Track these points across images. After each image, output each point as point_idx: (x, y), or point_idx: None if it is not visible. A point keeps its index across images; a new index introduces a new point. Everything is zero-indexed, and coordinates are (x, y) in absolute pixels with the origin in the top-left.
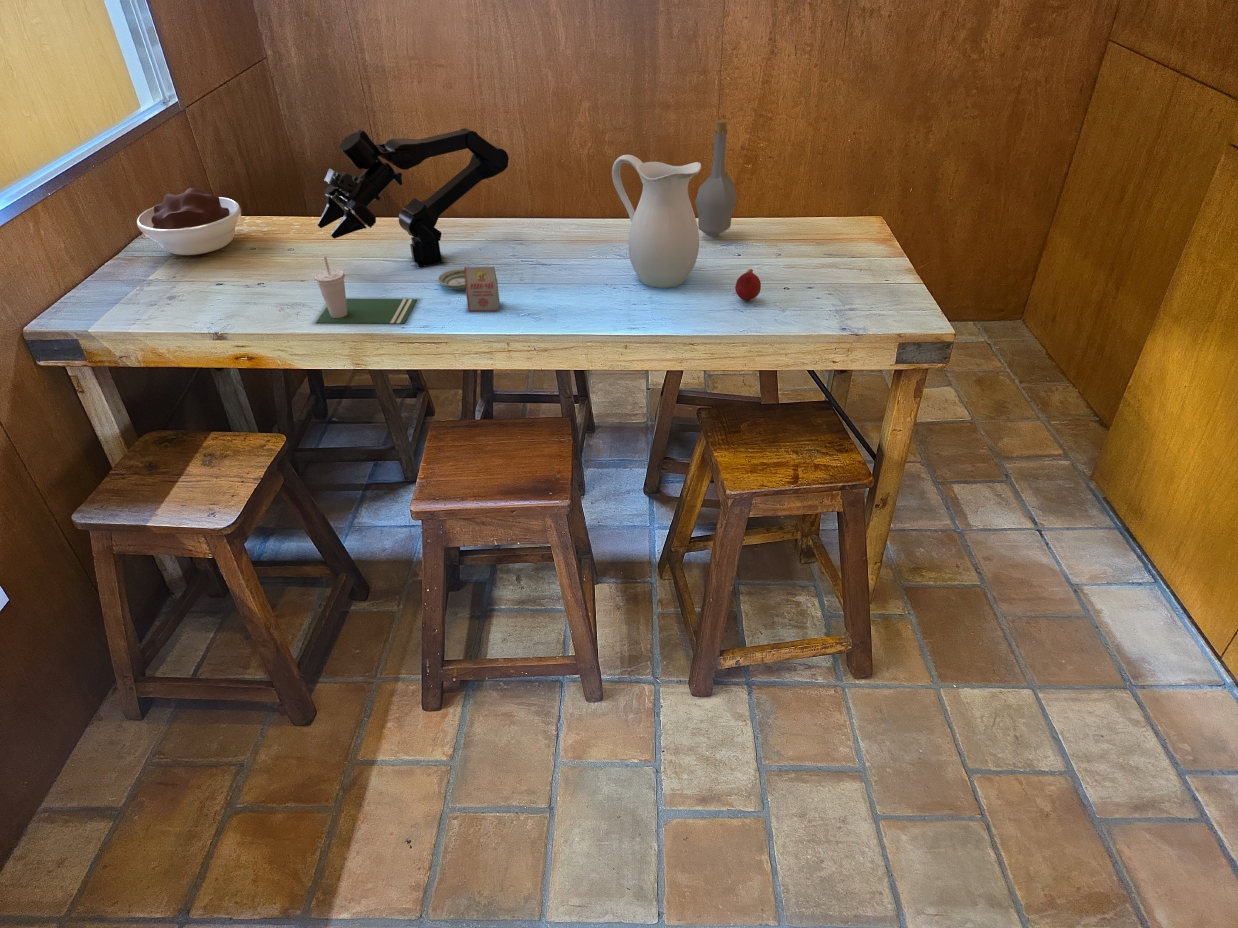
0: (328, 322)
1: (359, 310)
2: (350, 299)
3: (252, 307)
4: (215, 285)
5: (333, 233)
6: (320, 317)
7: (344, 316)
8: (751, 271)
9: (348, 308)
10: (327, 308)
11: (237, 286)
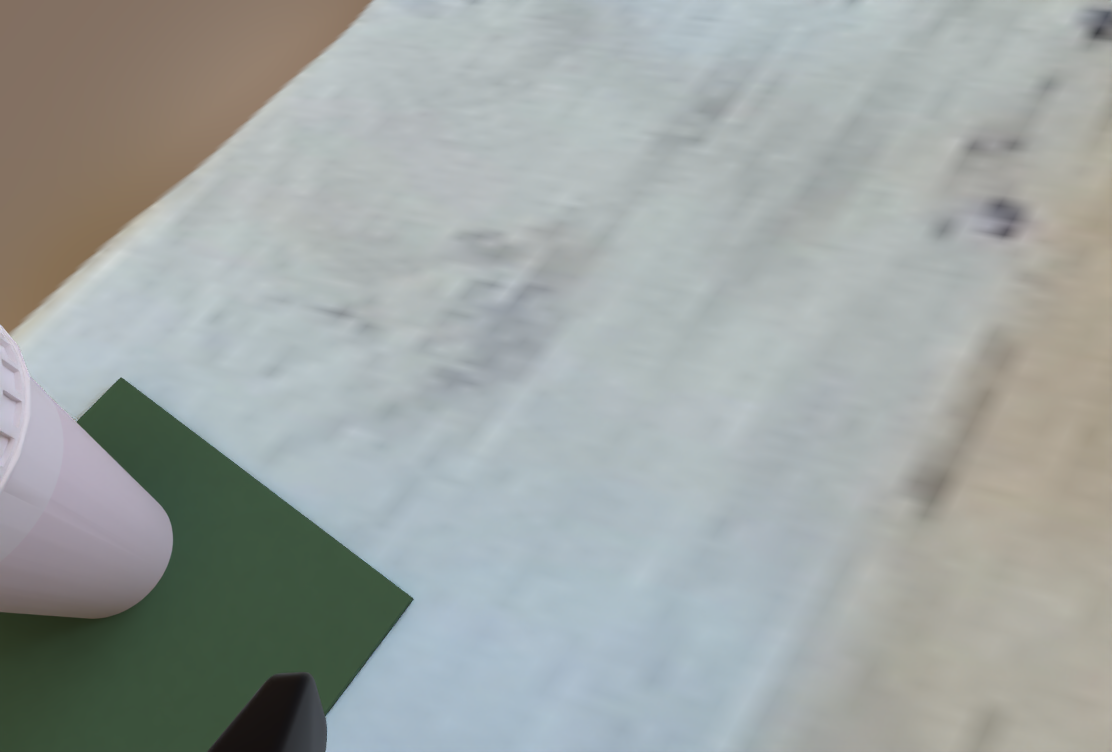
0: None
1: (42, 723)
2: None
3: (630, 119)
4: (1097, 5)
5: (233, 734)
6: (163, 421)
7: None
8: None
9: (145, 652)
10: (268, 506)
11: (1024, 98)
